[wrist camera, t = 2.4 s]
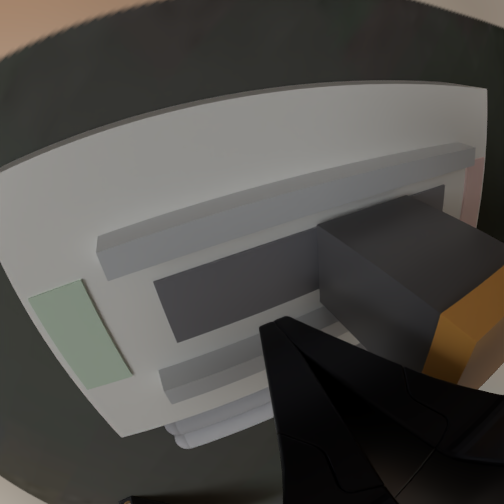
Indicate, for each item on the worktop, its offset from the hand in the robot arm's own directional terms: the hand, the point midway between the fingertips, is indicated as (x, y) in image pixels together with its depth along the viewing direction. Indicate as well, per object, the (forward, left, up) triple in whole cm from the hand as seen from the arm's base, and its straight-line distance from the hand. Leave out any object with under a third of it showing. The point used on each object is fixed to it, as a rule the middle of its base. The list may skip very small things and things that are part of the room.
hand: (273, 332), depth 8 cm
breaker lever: (-5, 0, -2) cm, 5 cm away
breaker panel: (-3, 0, -5) cm, 6 cm away
